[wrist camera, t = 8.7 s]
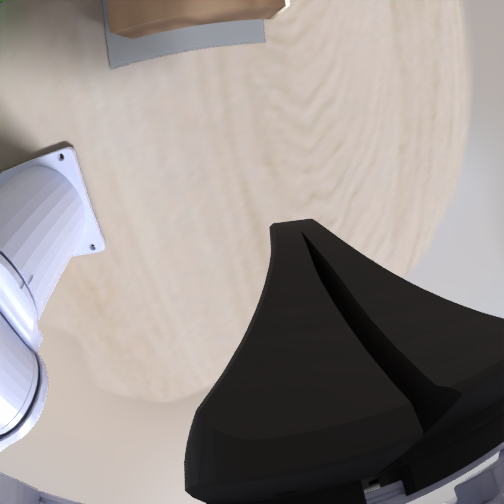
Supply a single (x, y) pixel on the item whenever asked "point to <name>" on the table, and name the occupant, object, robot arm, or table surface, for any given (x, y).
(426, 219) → the table surface
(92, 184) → the table surface
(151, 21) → the walnut block
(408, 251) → the table surface
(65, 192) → the robot arm
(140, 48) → the mat
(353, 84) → the table surface
